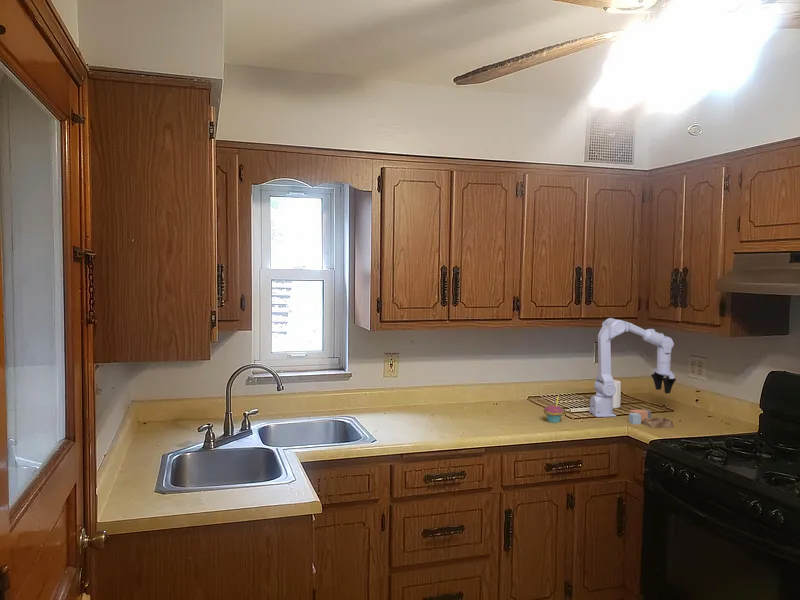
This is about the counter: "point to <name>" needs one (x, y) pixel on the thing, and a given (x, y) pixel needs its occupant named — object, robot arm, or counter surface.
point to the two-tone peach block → (642, 413)
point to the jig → (657, 422)
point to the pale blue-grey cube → (634, 418)
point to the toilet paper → (617, 394)
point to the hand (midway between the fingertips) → (662, 391)
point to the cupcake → (554, 412)
